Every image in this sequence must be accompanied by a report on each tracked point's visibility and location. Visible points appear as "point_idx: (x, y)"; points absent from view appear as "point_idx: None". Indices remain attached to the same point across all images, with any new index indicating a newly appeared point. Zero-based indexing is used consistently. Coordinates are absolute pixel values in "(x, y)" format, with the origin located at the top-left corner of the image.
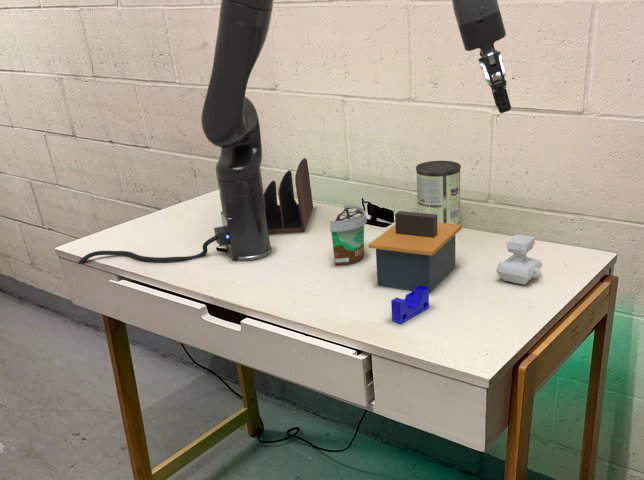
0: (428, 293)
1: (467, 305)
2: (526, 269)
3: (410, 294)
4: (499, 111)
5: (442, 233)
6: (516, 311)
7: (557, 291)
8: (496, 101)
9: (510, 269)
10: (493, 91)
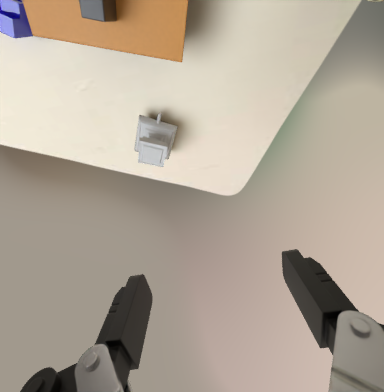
0: (19, 37)
1: (70, 87)
2: (135, 150)
3: (4, 2)
4: (129, 279)
5: (127, 31)
6: (85, 139)
7: (143, 166)
8: (118, 308)
9: (137, 132)
10: (85, 353)
